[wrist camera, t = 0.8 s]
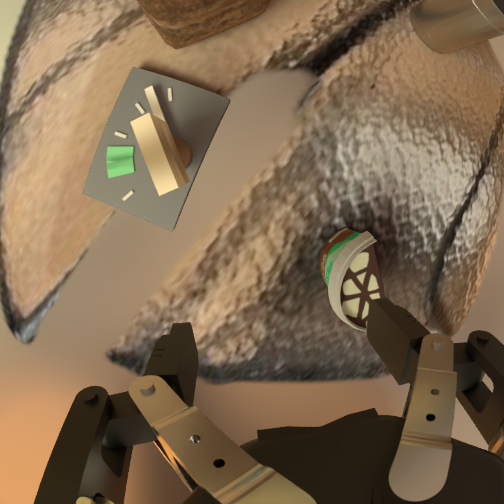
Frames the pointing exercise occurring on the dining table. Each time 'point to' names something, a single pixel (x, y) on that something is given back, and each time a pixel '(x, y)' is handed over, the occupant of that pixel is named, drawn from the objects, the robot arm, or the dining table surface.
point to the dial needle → (161, 148)
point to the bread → (197, 17)
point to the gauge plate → (129, 153)
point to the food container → (351, 275)
